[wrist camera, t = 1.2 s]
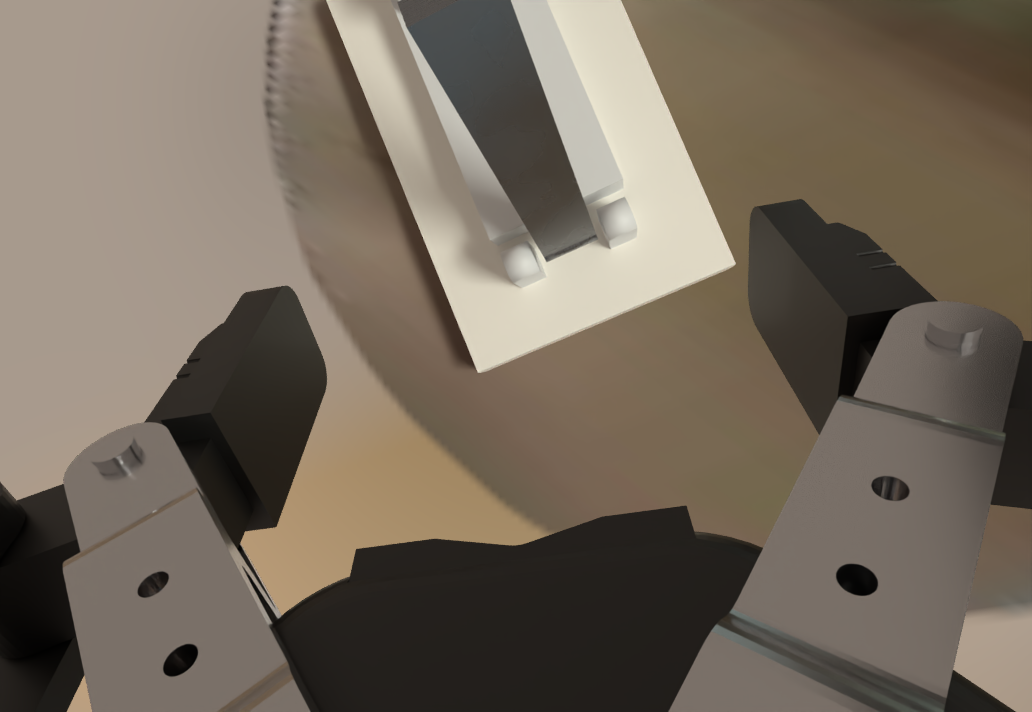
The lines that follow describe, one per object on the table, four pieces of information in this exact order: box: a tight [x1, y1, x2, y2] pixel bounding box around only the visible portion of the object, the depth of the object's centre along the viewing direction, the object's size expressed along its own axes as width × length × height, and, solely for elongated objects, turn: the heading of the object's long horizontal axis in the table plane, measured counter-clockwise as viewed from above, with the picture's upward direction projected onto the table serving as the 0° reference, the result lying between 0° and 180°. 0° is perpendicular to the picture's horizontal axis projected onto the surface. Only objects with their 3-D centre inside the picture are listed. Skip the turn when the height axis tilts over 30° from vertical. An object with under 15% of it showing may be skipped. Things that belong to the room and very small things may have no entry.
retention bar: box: [397, 0, 598, 262], centre depth 27 cm, size 3×19×1 cm
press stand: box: [326, 0, 736, 373], centre depth 38 cm, size 16×25×7 cm, turn 23°
